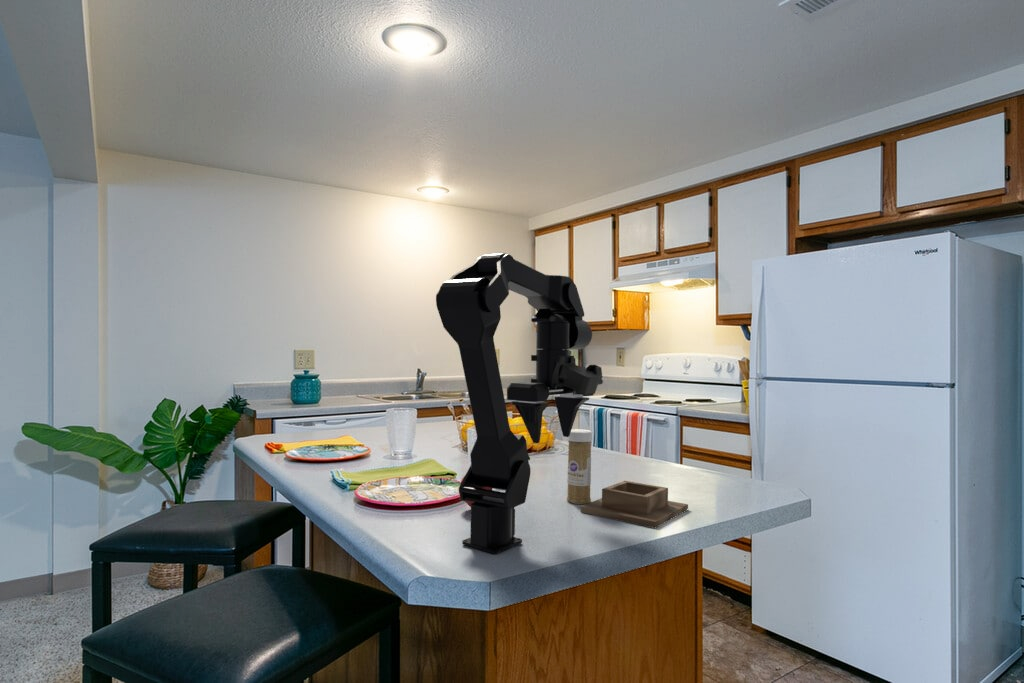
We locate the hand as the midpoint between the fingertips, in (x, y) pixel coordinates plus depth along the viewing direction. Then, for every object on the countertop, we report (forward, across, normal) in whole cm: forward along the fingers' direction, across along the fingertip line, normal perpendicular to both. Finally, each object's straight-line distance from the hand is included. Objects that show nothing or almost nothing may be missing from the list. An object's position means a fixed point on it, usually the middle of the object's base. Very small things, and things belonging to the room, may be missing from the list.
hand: (551, 439), depth 101 cm
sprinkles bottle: (+13, +11, +1) cm, 17 cm away
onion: (+13, -6, +12) cm, 19 cm away
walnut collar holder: (+13, +12, -10) cm, 20 cm away
